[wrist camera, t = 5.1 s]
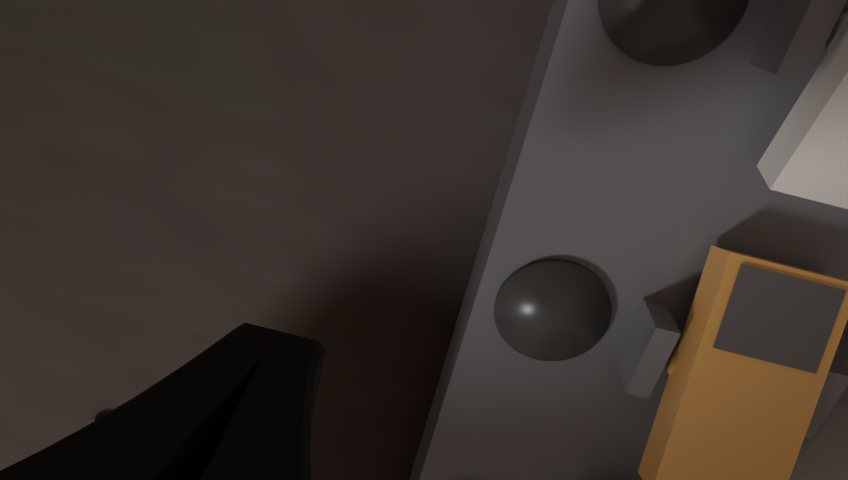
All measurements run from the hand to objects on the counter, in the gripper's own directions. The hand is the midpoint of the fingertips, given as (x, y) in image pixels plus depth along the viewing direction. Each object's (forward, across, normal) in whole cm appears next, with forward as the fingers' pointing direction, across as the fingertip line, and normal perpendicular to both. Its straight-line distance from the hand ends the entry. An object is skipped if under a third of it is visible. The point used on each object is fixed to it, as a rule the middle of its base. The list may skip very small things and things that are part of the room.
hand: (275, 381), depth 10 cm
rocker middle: (+5, -10, +1) cm, 11 cm away
